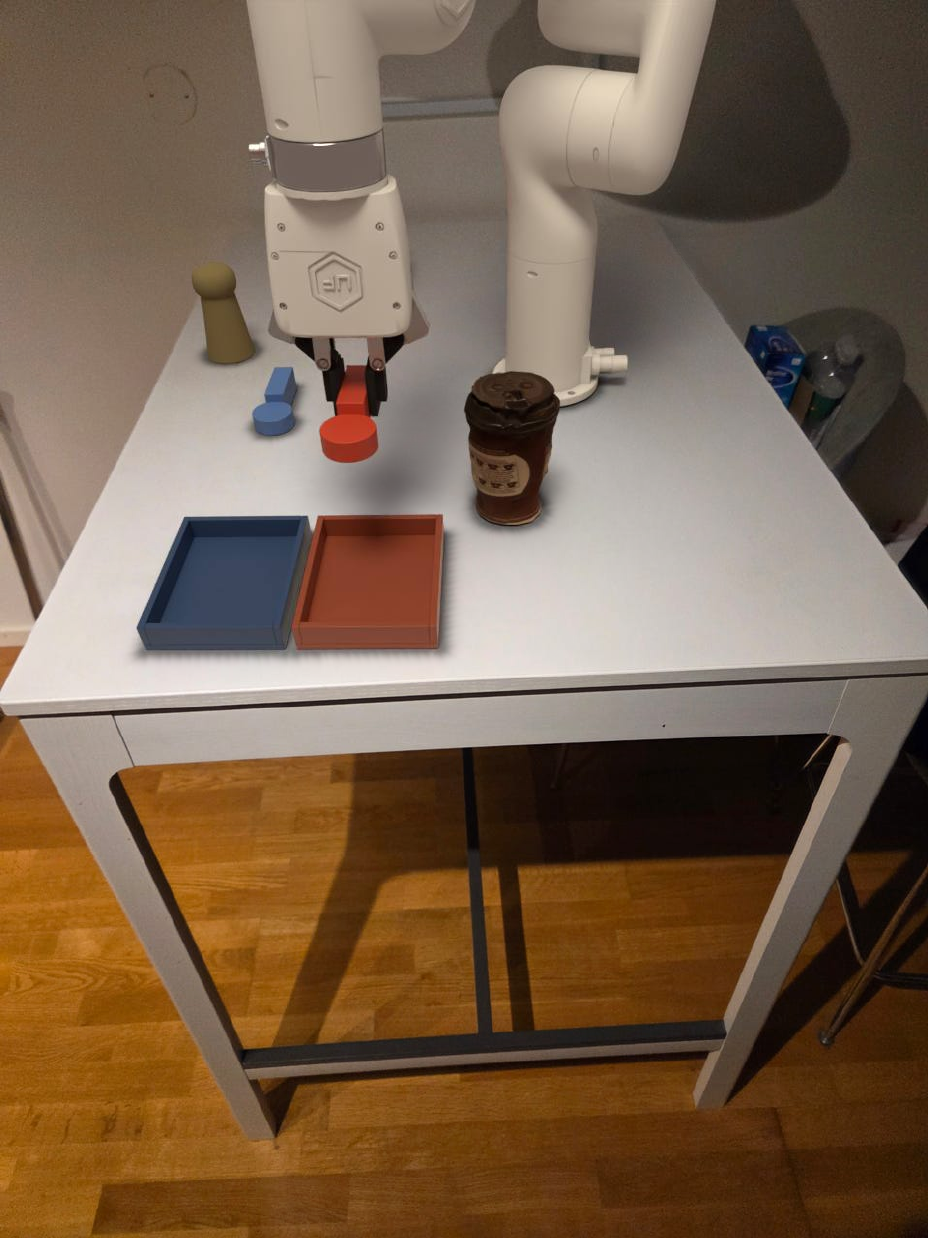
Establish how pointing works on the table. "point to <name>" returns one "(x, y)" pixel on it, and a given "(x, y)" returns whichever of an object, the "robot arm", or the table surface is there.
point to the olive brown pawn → (222, 314)
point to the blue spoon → (277, 404)
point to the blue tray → (228, 584)
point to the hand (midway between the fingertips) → (358, 406)
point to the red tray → (371, 583)
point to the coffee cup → (510, 443)
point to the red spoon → (350, 422)
